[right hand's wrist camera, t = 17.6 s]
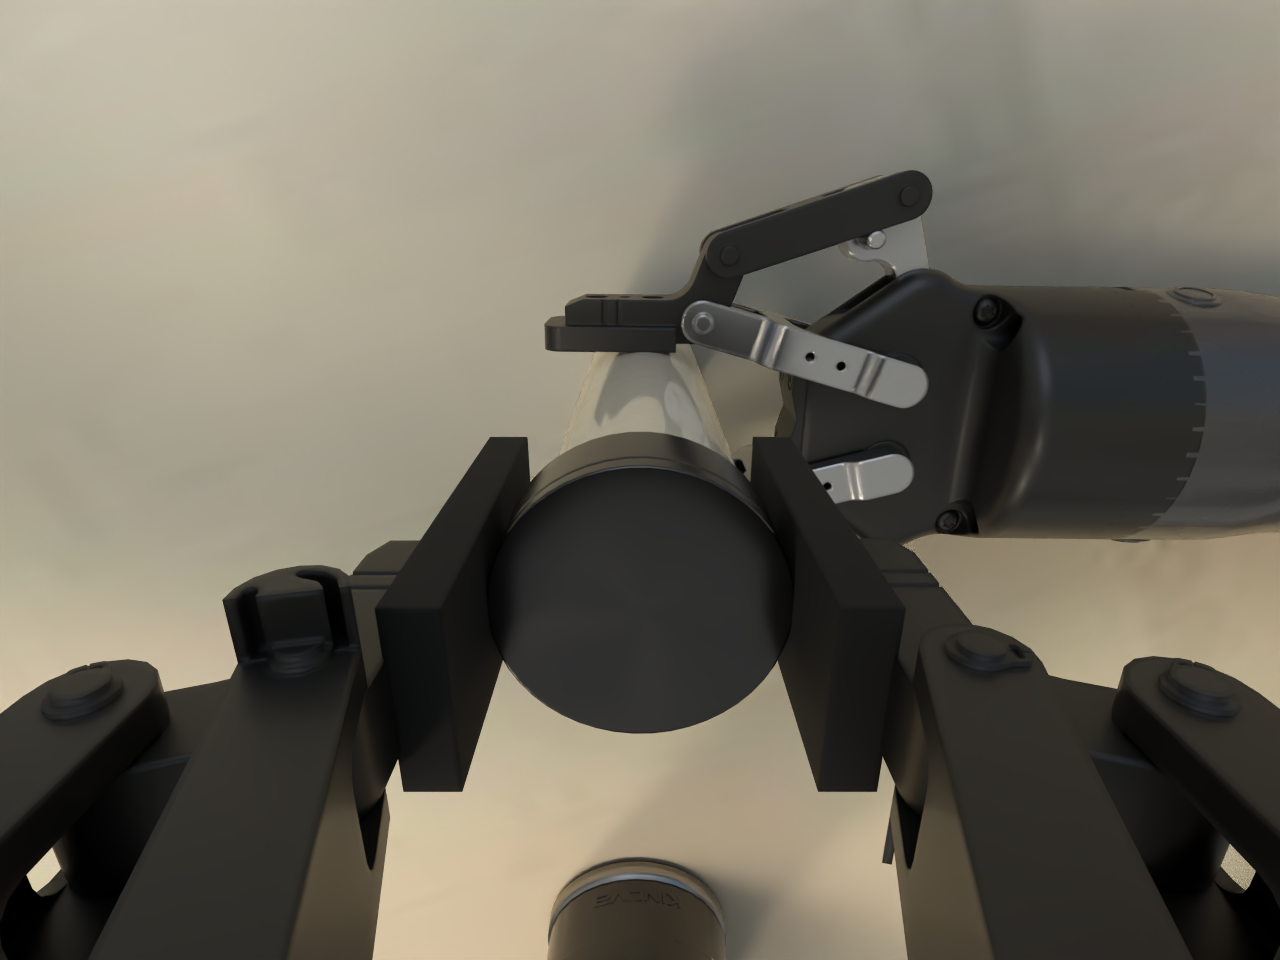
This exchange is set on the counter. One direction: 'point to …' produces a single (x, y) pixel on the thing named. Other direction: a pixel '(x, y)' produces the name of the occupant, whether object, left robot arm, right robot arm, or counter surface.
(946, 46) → the counter surface
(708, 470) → the lid
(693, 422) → the bottle
